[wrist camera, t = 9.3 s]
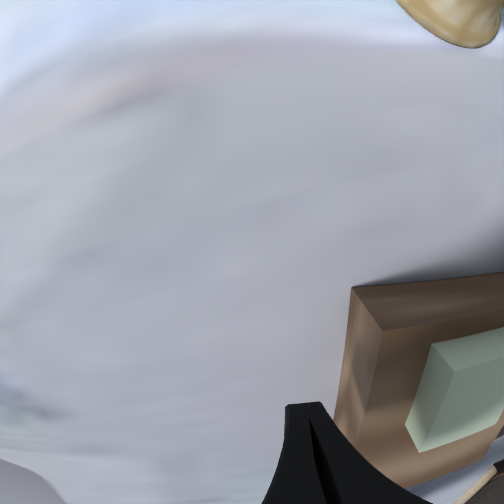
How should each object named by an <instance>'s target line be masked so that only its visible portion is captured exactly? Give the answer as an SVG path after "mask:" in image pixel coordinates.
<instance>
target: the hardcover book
mask: <svg viewBox="0 0 504 504" xmlns="http://www.w3.org/2000/svg"><path fill="white" fill-rule="evenodd" d="M454 504H504V461H501V462H498V463H495V464H493V466H492V467H491V468H490V469H489V471H488V472H487V473H486V474H485V475H484V476H483V477H482V478H481V479H480V480H479V481H478V482H477V483H476V484H475V485H474V486H473V487H472V488H471V489H469V490H468V491H467V492H466V493H465V494H464V495H463V496H462V497H461V498H460V499H459V500H458V501H456V502H455V503H454Z"/></svg>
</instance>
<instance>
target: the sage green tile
mask: <svg viewBox="0 0 504 504" xmlns="http://www.w3.org/2000/svg"><path fill="white" fill-rule="evenodd" d="M503 410H504V327H502V328H498V329H494V330H490V331H486V332H482V333H478V334H474V335H470V336H466V337H461V338H457V339H452V340H447V341H443V342H438V343H433V344H431V347H430V351H429V355H428V358H427V361H426V365H425V368H424V371H423V375H422V378H421V381H420V384H419V387H418V390H417V393H416V396H415V399H414V402H413V405H412V407H411V410H410V413H409V415H408V418H407V421H406V423H405V426H406V428H407V430H408V432H409V434H410V436H411V438H412V440H413V442H414V444H415V446H416V448H417V450H418V452H419V453H420V452H424V451H427V450H430V449H433V448H436V447H439V446H442V445H445V444H448V443H451V442H453V441H456V440H459V439H461V438H464V437H466V436H469V435H472V434H474V433H476V432H479V431H481V430H484V429H486V428H488V427H490V426H493V425H495V424H496V423H497V421H498V419H499V417H500V415H501V414H502V412H503Z"/></svg>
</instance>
